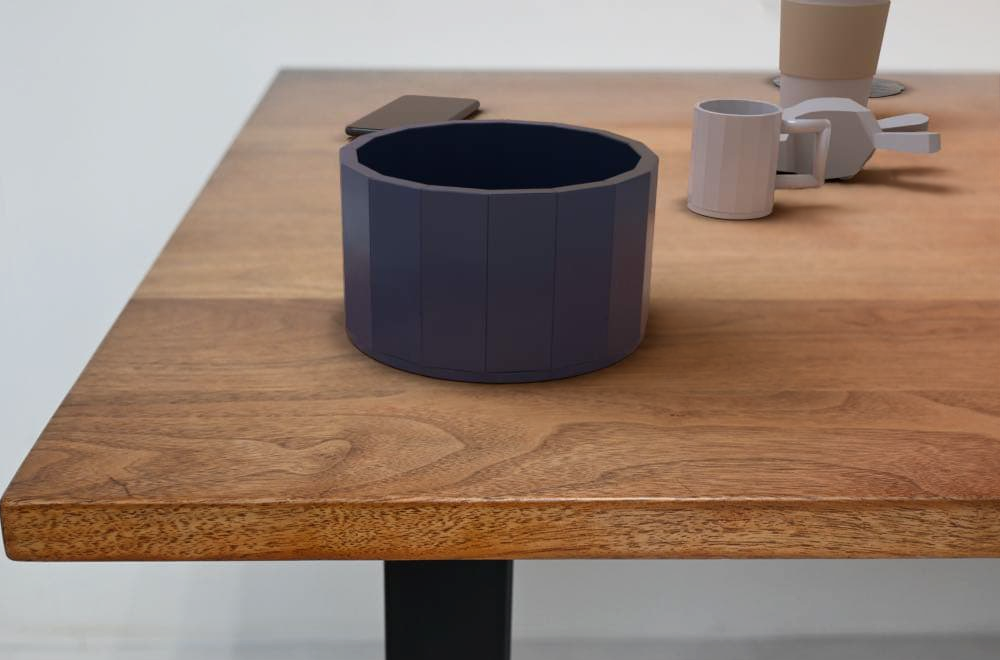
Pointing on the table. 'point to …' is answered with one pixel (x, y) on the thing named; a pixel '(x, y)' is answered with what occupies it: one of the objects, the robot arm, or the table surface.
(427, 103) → the smartphone
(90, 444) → the table surface
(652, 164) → the pot
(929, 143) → the bunny figurine
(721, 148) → the mug
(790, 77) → the coffee cup
